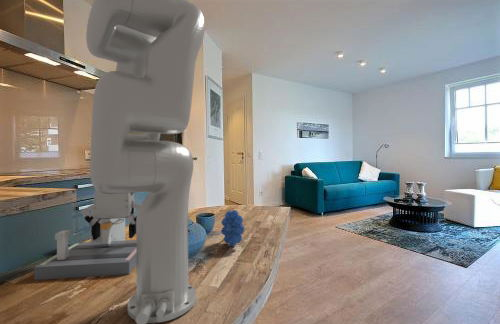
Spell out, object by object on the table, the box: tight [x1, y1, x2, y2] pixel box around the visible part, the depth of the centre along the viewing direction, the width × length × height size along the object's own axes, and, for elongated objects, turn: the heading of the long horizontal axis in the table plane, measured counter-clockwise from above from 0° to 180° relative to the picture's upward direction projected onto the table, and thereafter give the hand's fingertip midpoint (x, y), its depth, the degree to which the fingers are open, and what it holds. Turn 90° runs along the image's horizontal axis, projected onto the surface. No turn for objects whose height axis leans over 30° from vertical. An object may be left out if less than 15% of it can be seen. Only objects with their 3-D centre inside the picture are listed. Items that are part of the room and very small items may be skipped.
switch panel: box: [33, 229, 137, 281], centre depth 66 cm, size 17×21×10 cm
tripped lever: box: [100, 222, 113, 246], centre depth 70 cm, size 3×2×6 cm
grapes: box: [220, 209, 245, 247], centre depth 79 cm, size 12×7×12 cm, turn 38°
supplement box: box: [90, 210, 126, 242], centre depth 81 cm, size 7×7×13 cm
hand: (114, 237), depth 70 cm, fingers open, 9 cm apart
